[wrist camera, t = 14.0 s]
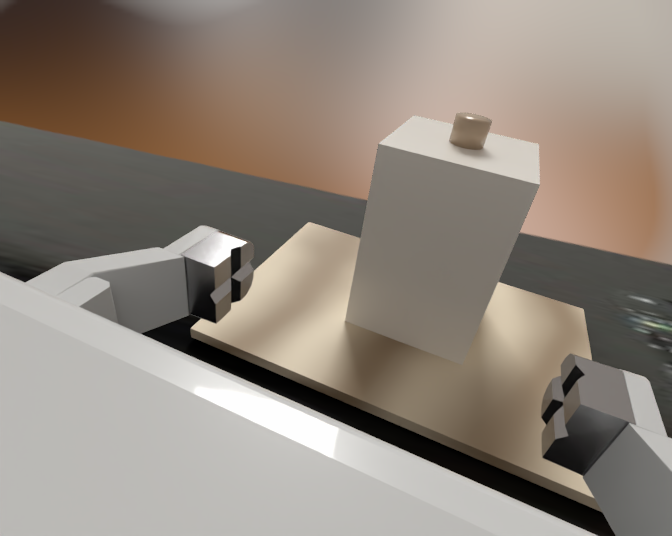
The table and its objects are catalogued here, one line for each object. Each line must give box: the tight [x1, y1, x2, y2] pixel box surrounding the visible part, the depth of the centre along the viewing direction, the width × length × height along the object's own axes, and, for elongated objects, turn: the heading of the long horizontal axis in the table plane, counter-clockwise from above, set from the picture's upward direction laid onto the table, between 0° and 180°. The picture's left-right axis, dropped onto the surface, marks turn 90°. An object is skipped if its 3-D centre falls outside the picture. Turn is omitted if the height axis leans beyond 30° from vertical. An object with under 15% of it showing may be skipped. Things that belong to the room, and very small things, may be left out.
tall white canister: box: [345, 113, 540, 365], centre depth 22 cm, size 7×7×11 cm
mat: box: [191, 222, 602, 512], centre depth 24 cm, size 20×14×1 cm
